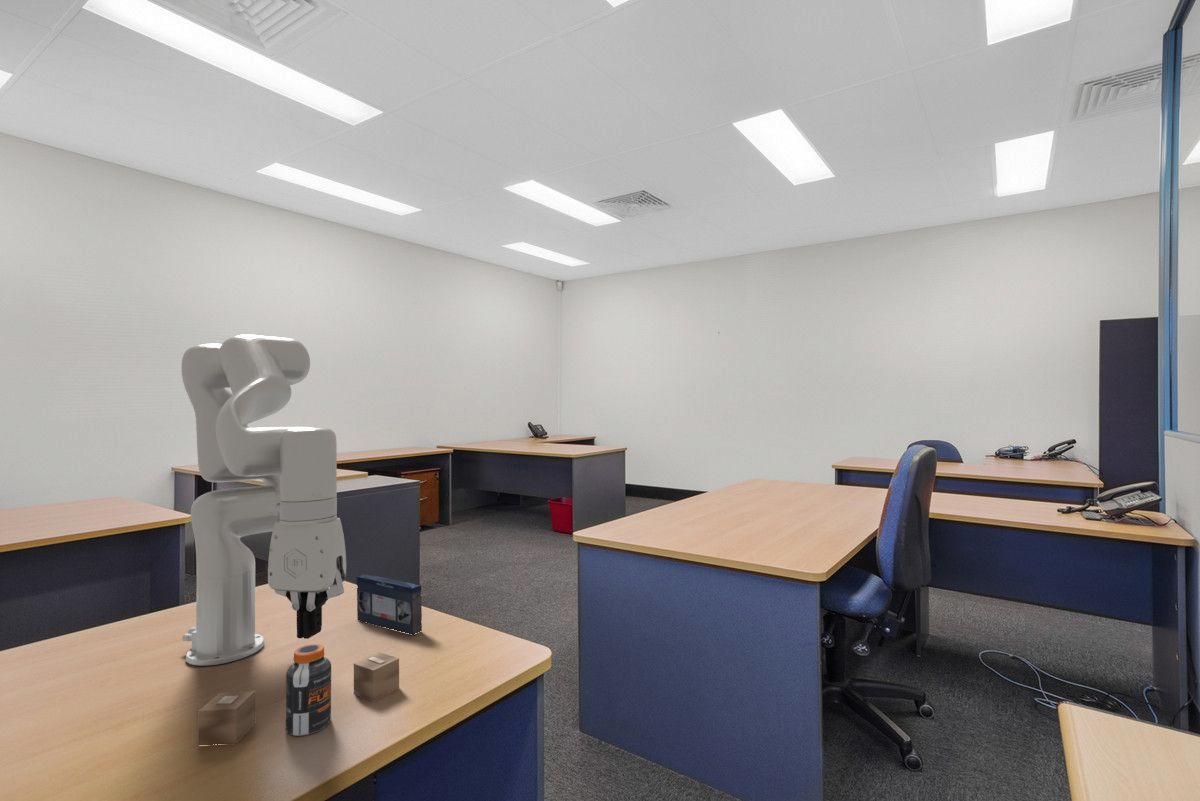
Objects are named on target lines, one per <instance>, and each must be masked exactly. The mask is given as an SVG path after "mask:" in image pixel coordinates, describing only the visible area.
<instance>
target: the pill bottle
mask: <svg viewBox="0 0 1200 801" xmlns="http://www.w3.org/2000/svg"><path fill="white" fill-rule="evenodd" d="M325 654H326V653H325V646H324V645H323V644H320V643H312V644H305V645H302V646H300V647H298V648H296V649H295V650H294V652H293V662H292V663H291V665H289V666H288V668H287V670H286V674H285V676H286V677H285V678H286V679H285V682H286V683H285V684H286V686H285V731H286V732H287V734H289V735H291V736H295V737H299V736H300V737H301V736H307V735H310V734H314V733H317V732H319V731H321V730H323V729H324V728H325V727H327V726H328V724H330V723H331V720H332V719H331V718H332V717H331V715H332V663H331V661H330V659H329V658H327V657H325Z"/></svg>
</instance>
